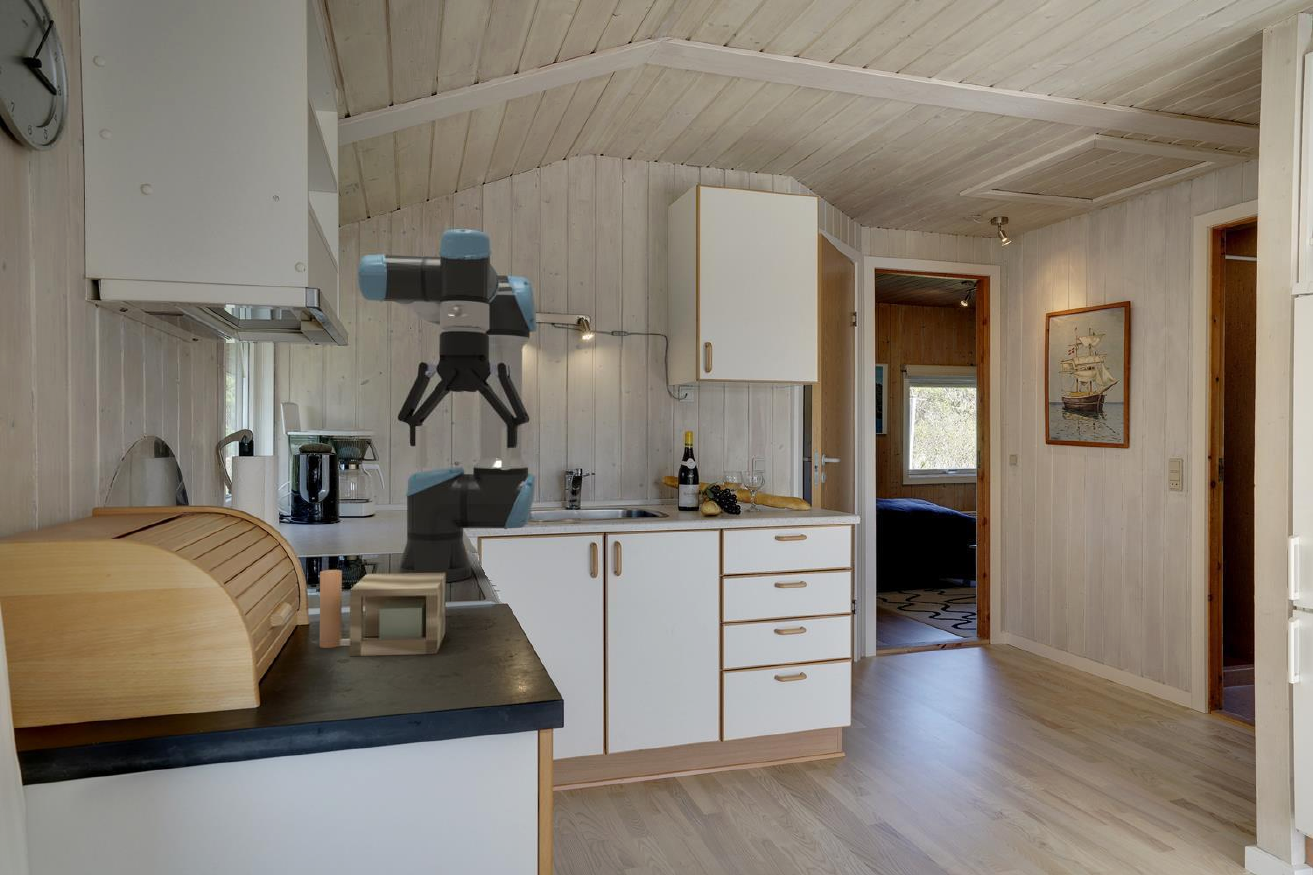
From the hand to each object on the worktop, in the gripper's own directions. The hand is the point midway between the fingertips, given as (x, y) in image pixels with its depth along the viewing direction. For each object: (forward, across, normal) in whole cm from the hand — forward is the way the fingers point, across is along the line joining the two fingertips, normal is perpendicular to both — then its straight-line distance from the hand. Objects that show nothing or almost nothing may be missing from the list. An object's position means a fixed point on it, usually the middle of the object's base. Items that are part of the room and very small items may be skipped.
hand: (463, 468), depth 128 cm
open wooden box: (+26, -8, -5) cm, 28 cm away
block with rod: (+26, -12, -6) cm, 29 cm away
